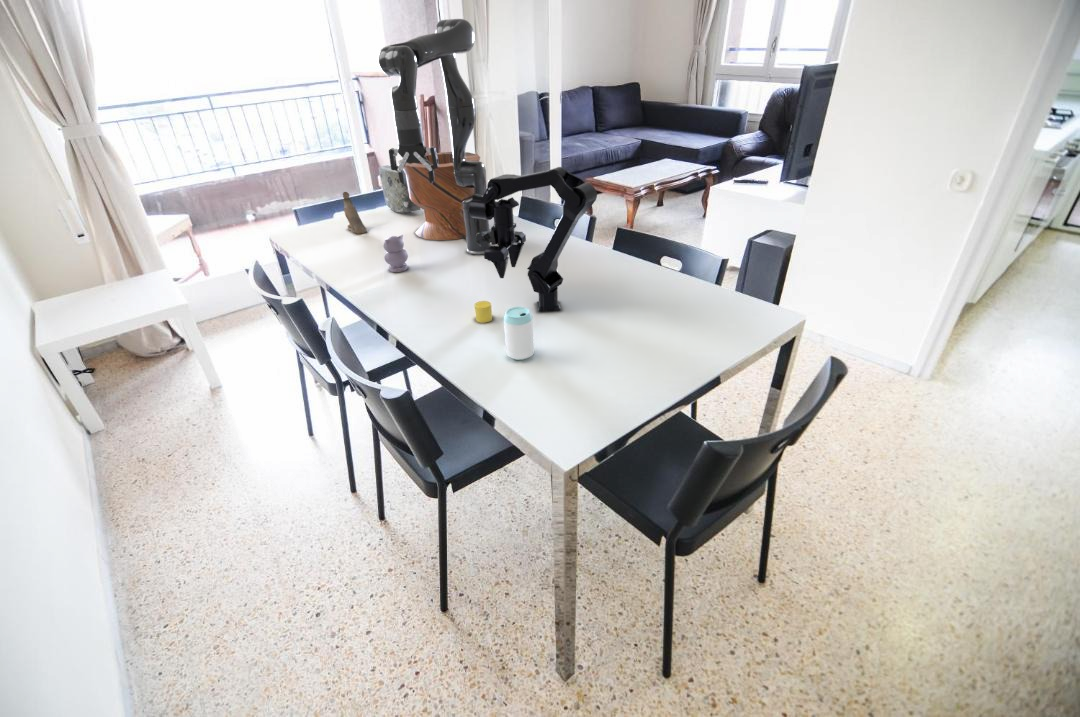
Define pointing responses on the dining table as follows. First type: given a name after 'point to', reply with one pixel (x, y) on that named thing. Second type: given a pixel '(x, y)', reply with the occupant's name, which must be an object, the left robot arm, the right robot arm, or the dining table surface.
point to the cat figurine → (395, 253)
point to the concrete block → (396, 191)
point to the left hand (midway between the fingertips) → (417, 183)
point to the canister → (483, 311)
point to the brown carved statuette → (352, 216)
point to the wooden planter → (439, 197)
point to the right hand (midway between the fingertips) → (507, 272)
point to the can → (519, 333)
